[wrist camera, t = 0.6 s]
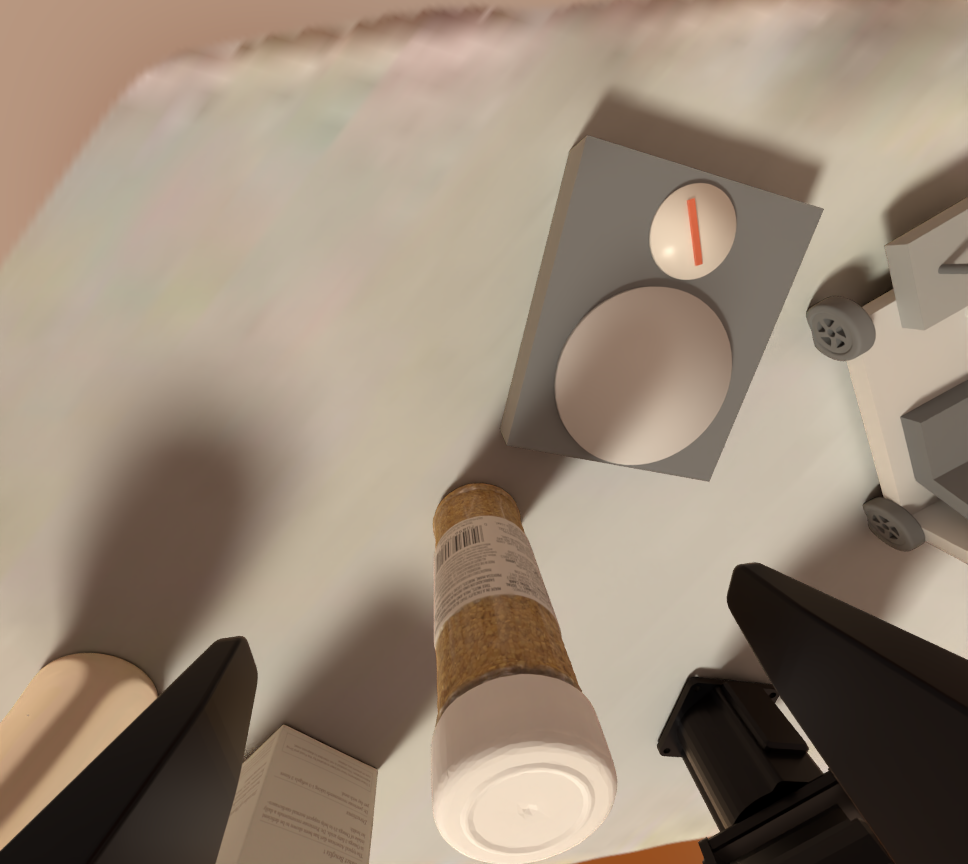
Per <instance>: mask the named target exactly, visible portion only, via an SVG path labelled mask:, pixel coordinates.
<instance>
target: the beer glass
mask: <svg viewBox="0 0 968 864" xmlns="http://www.w3.org/2000/svg"><path fill="white" fill-rule="evenodd" d="M157 697H158V694H157V690H156V688H155V686H154V684H153V682H152V681H151V679H150V678H149V677H148V676H147V675H146V674H145V673H144V672H143V671H142V670H141V669H139V668H138V667H136V666H135V665H133V664H131V663H130V662H128V661H125V660H123V659H121V658H118V657H115V656H111V655H106V654H100V653H77V654H71V655H67V656H63V657H60V658H58V659H56V660H54V661H52V662H50V663H49V664H47V665H46V666H44V667H43V668H42V669H41V670H40V671H39V672H38V673H37V674H36V675H35V676H34V678H33V679H32V680H31V682H30V683H29V685H28V686H27V687H26V689H25V690H24V692H23V693H22V694H21V696H20V697H19V699H18V700H17V702H16V703H15V704H14V706H13V707H12V709H11V710H10V711H9V713H8V714H7V715H6V716H5V718H4V719H3V720H2V721H1V723H0V850H1V849H2V848H3V847H5V846H6V845H7V844H8V843H9V842H10V841H11V840H12V839H13V838H14V837H15V836H16V835H17V834H18V833H19V832H20V831H21V830H22V829H23V828H24V827H25V826H26V825H27V824H28V823H29V822H30V821H31V820H32V819H33V818H34V817H35V816H36V815H37V814H38V813H39V812H40V811H41V810H42V809H43V808H45V807H46V806H47V805H48V804H49V803H50V802H51V801H52V800H53V799H54V798H55V797H56V796H57V795H58V794H59V793H60V792H61V791H62V790H63V789H64V788H65V787H66V786H67V785H68V784H69V783H70V782H71V781H72V780H73V779H74V778H75V777H76V776H77V775H78V774H79V773H80V772H81V771H82V770H84V769H85V768H86V767H87V766H88V765H89V764H90V763H91V762H92V761H93V760H94V759H95V758H96V757H97V756H98V755H99V754H100V753H101V752H102V751H103V750H104V749H105V748H106V747H107V746H108V745H109V744H110V743H111V742H112V741H113V740H114V739H115V738H116V737H117V736H118V735H119V734H120V733H121V732H122V731H124V730H125V729H126V728H127V727H128V726H129V725H130V724H131V723H132V722H133V721H134V720H135V719H136V718H137V717H138V716H139V715H140V714H141V713H142V712H143V711H144V710H145V709H146V708H147V707H148V706H149V705H150V704H151V703H152V702H153V701H154V700H155V699H156V698H157Z"/></svg>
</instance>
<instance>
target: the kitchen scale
mask: <svg viewBox="0 0 968 864" xmlns="http://www.w3.org/2000/svg"><path fill="white" fill-rule="evenodd" d="M823 210H824V209H823V208H819V207H816V206H813V205H810V204H807V203H803V202H800V201H797V200H794V199H791V198H787V197H784V196H781V195H778V194H775V193H771V192H768V191H765V190H762V189H759V188H755V187H752V186H749V185H746V184H743V183H739V182H736V181H733V180H730V179H727V178H723V177H720V176H717V175H714V174H711V173H707V172H704V171H701V170H698V169H695V168H691V167H688V166H685V165H682V164H679V163H675V162H672V161H669V160H666V159H663V158H659V157H656V156H653V155H650V154H647V153H643V152H640V151H637V150H634V149H631V148H627V147H624V146H621V145H618V144H615V143H611V142H608V141H605V140H602V139H599V138H595V137H592V136H589V135H587V136H585V137H584V138H583V139H582V140H581V141H580V142H579V143H578V144H577V145H576V146H574V147H573V148H572V149H571V150H570V151H569V155H568V159H567V163H566V167H565V171H564V175H563V179H562V183H561V187H560V191H559V195H558V199H557V203H556V207H555V211H554V215H553V219H552V223H551V227H550V231H549V235H548V239H547V243H546V247H545V251H544V255H543V259H542V263H541V267H540V271H539V275H538V279H537V283H536V287H535V291H534V294H533V298H532V302H531V306H530V310H529V314H528V318H527V322H526V326H525V330H524V334H523V338H522V342H521V346H520V350H519V354H518V358H517V362H516V366H515V370H514V374H513V378H512V382H511V386H510V390H509V394H508V398H507V402H506V406H505V410H504V414H503V418H502V422H501V426H500V431H501V433H502V436H503V438H504V440H505V443H506V445H507V446H513V447H518V448H524V449H529V450H535V451H540V452H546V453H552V454H557V455H563V456H568V457H574V458H580V459H585V460H591V461H596V462H602V463H608V464H613V465H619V466H624V467H630V468H636V469H641V470H647V471H652V472H658V473H664V474H669V475H675V476H680V477H686V478H692V479H697V480H703V481H708V482H709V481H710V479H711V476H712V474H713V472H714V469H715V467H716V464H717V462H718V460H719V457H720V455H721V452H722V450H723V448H724V445H725V443H726V441H727V438H728V436H729V433H730V431H731V429H732V426H733V424H734V422H735V419H736V417H737V414H738V412H739V410H740V407H741V405H742V403H743V400H744V398H745V395H746V393H747V391H748V388H749V386H750V383H751V381H752V379H753V376H754V374H755V372H756V369H757V367H758V364H759V362H760V360H761V357H762V355H763V353H764V350H765V348H766V345H767V343H768V341H769V338H770V336H771V334H772V331H773V329H774V326H775V324H776V322H777V319H778V317H779V314H780V312H781V310H782V307H783V305H784V303H785V300H786V298H787V295H788V293H789V291H790V288H791V286H792V284H793V281H794V279H795V276H796V274H797V272H798V269H799V267H800V265H801V262H802V260H803V257H804V255H805V253H806V250H807V248H808V245H809V243H810V241H811V238H812V236H813V234H814V231H815V229H816V226H817V224H818V222H819V219H820V217H821V215H822V212H823Z"/></svg>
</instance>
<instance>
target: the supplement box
mask: <svg viewBox="0 0 968 864" xmlns="http://www.w3.org/2000/svg"><path fill="white" fill-rule="evenodd" d="M377 775H378V770H377V769H375V768H373V767H371V766H369V765H367V764H364V763H362V762H360V761H358V760H356V759H354V758H352V757H350V756H348V755H346V754H344V753H342V752H340V751H337V750H335V749H333V748H331V747H329V746H327V745H325V744H323V743H321V742H319V741H317V740H315V739H313V738H311V737H309V736H307V735H305V734H303V733H301V732H299V731H297V730H294V729H292V728H290V727H288V726H286V725H282V726H281V727H280V728H279V729H278V730H277V731H276V732H275V733H274V734H273V735H271V736H270V738H269V739H267V740H266V741H265V742H264V743H263V744H262V745H261V746H260V747H259V748H258V749H257V750H256V751H255V752H254V753H253V754H252V755H251V756H250V757H249V758H248V759H247V760H246V761H245V762H244V763H243V764H242V768H241V773H240V777H239V782H238V787H237V790H236V794H235V798H234V802H233V805H232V809H231V812H230V816H229V819H228V823H227V826H226V830H225V833H224V837H223V840H222V844H221V847H220V850H219V854H218V857H217V861H216V864H369V855H370V846H371V837H372V827H373V816H374V805H375V795H376V785H377Z"/></svg>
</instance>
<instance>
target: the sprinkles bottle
mask: <svg viewBox="0 0 968 864" xmlns="http://www.w3.org/2000/svg"><path fill="white" fill-rule="evenodd" d="M520 520H521V517H520V511H519V509H518V507H517V505H516V502H515V501H514V500H513V498H512V497H511V496H510V495H509V494H508V493H507V492H505V491H504V490H503V489H501V488H499V487H496V486H494V485H489V484H484V483H478V484H477V483H474V484H467V485H465V486H462V487H459V488H457V489H455V490H454V491H453V492H451V493H449V494H448V495H447V496H446V497H445V498H444V499H443V500H442V501H441V502H440V504H439V505H438V507H437V510H436V512H435V516H434V518H433V532H434V536H435V539H436V547H435V548H436V549H435V553H434V647H435V651H436V662H437V694H438V701H437V708H438V715H437V721H436V726H435V730H434V733H433V738H432V743H431V784H432V806H433V816H434V820H435V823H436V825H437V828H438V830H439V832H440V834H441V835H442V836H443V838H444V839H445V840H446V841H447V842H448V843H449V844H450V845H451V846H452V847H453V848H454V849H456V850H457V851H458V852H460V853H462V854H464V855H466V856H468V857H470V858H473V859H476V860H479V861H482V862H488V863H494V864H522V863H530V862H535V861H539V860H543V859H547V858H550V857H552V856H555V855H557V854H560V853H562V852H565V851H567V850H569V849H570V848H572V847H574V846H576V845H578V844H579V843H581V842H582V841H583V840H585V839H586V838H587V837H588V836H590V835H591V834H592V833H593V832H594V831H595V830H596V829H597V828H598V827H599V826H600V825H601V824H602V822H603V821H604V820H605V818H606V817H607V815H608V814H609V812H610V810H611V808H612V806H613V803H614V799H615V795H616V790H617V776H616V771H615V767H614V763H613V760H612V757H611V754H610V751H609V748H608V745H607V742H606V740H605V737H604V734H603V731H602V728H601V726H600V723H599V720H598V718H597V715H596V712H595V710H594V708H593V706H592V704H591V702H590V701H589V700H588V698H587V697H586V696H585V695H584V694H583V693H582V690H581V688H580V687H579V685H578V682H577V679H576V676H575V673H574V671H573V668H572V665H571V662H570V660H569V657H568V655H567V652H566V649H565V647H564V643H563V641H562V636H561V631H560V627H559V624H558V621H557V618H556V616H555V613H554V610H553V607H552V604H551V602H550V599H549V596H548V593H547V591H546V588H545V585H544V582H543V579H542V577H541V574H540V571H539V568H538V565H537V562H536V559H535V557H534V554H533V551H532V548H531V545H530V543H529V540H528V538H527V537H526V535H525V533H524V529H523V527H522V524H521V521H520Z"/></svg>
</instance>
